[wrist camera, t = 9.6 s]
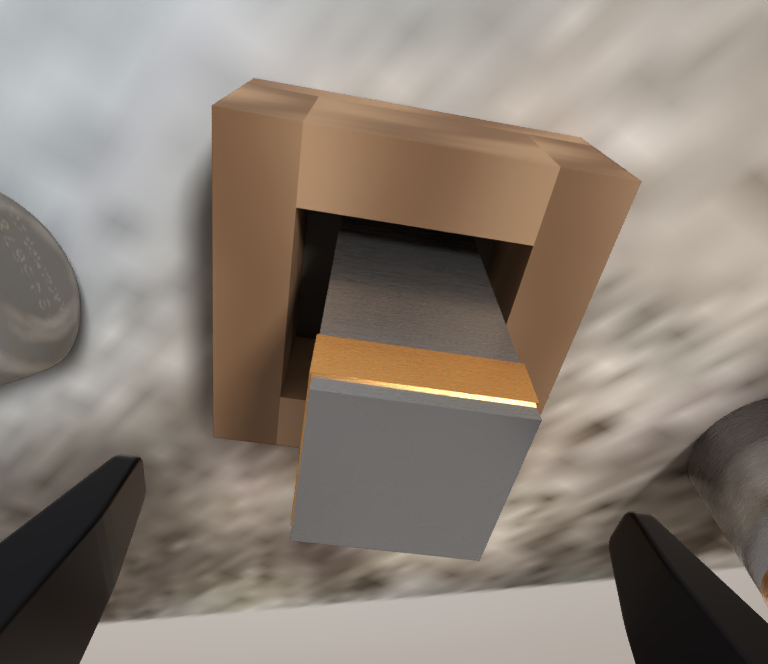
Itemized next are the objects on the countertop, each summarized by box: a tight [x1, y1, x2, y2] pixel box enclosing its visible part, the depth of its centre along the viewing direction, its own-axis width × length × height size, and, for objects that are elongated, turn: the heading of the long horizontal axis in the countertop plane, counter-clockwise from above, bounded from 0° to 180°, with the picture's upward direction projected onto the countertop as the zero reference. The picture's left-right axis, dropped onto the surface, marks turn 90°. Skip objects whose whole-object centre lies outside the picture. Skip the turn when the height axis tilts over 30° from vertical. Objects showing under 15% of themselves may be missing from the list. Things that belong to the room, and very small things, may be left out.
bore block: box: [212, 78, 641, 448], centre depth 17 cm, size 10×10×4 cm
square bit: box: [290, 215, 542, 561], centre depth 14 cm, size 4×4×9 cm
